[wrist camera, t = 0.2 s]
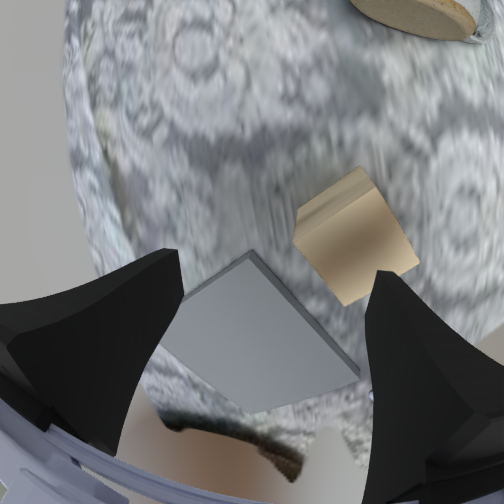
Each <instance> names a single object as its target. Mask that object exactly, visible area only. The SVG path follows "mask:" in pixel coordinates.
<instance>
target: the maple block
mask: <svg viewBox="0 0 504 504" xmlns="http://www.w3.org/2000/svg"><path fill="white" fill-rule="evenodd" d="M293 244H294V245H295V246H296V247H297V248H298V250H299V251H300V252H301V253H302V254H303V256H304V257H305V258H306V259H307V260H308V262H309V263H310V264H311V265H312V267H313V268H314V269H315V270H316V272H317V273H318V274H319V275H320V276H321V278H322V279H323V280H324V281H325V283H326V284H327V285H328V286H329V288H330V289H331V290H332V291H333V293H334V294H335V295H336V296H337V298H338V299H339V300H340V302H341V303H342V304H343V305H344V307H345V306H347V305H349V304H351V303H353V302H355V301H356V300H358V299H360V298H362V297H364V296H365V295H367V294H369V293H371V292H372V288H373V284H374V281H375V277H376V273H377V270H384V271H393V272H395V273H396V274H397V275H398V276H400V275H402V274H403V273H405V272H407V271H408V270H410V269H412V268H413V267H415V266H416V265H418V264H420V261H419V259H418V258H417V256H416V254H415V252H414V250H413V248H412V246H411V244H410V243H409V241H408V239H407V237H406V235H405V234H404V232H403V230H402V228H401V227H400V225H399V223H398V221H397V220H396V218H395V216H394V215H393V213H392V211H391V210H390V208H389V206H388V205H387V203H386V202H385V200H384V198H383V197H382V195H381V194H380V192H379V191H378V189H377V187H376V186H375V185H374V183H373V182H372V181H371V179H370V178H369V177H368V175H367V174H366V173H365V171H364V170H363V169H362V167H361V166H359V167H357V168H356V169H354V170H353V171H351V172H350V173H348V174H347V175H346V176H344V177H343V178H341V179H340V180H338V181H337V182H336V183H334V184H333V185H331V186H330V187H328V188H327V189H326V190H324V191H323V192H321V193H320V194H318V195H317V196H316V197H314V198H313V199H311V200H310V201H308V202H307V203H306V204H304V205H303V206H301V207H300V208H298V212H297V218H296V225H295V231H294V237H293Z"/></svg>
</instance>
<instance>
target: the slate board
mask: <svg viewBox="0 0 504 504" xmlns="http://www.w3.org/2000/svg"><path fill="white" fill-rule="evenodd" d="M159 344H160V345H161V346H162V347H164V348H165V349H166V350H167V351H168V352H169V353H170V354H172V355H173V356H174V357H175V358H176V359H178V360H179V361H180V362H181V363H182V364H184V365H185V366H186V367H187V368H188V369H190V370H191V371H192V372H193V373H195V374H196V375H197V376H198V377H200V378H201V379H202V380H203V381H205V382H206V383H207V384H209V385H210V386H211V387H213V388H214V389H215V390H217V391H218V392H219V393H221V394H222V395H223V396H225V397H226V398H227V399H229V400H230V401H232V402H233V403H234V404H236V405H237V406H239V407H240V408H242V409H243V410H244V411H246V412H247V413H249V414H250V415H251V414H255V413H259V412H263V411H267V410H271V409H275V408H278V407H282V406H285V405H289V404H292V403H296V402H299V401H302V400H305V399H309V398H312V397H315V396H318V395H321V394H324V393H327V392H329V391H332V390H335V389H338V388H340V387H343V386H346V385H348V384H351V383H354V382H356V381H359V380H360V370H359V369H358V368H357V367H356V365H355V364H354V363H353V362H352V361H351V360H350V359H349V358H348V357H347V355H346V354H345V353H344V352H343V351H342V350H341V349H340V348H339V346H338V345H337V344H336V343H335V342H334V341H333V340H332V339H331V337H330V336H329V335H328V334H327V333H326V332H325V331H324V330H323V329H322V327H321V326H320V325H319V324H318V323H317V322H316V321H315V320H314V318H313V317H312V316H311V315H310V314H309V313H308V312H307V311H306V310H305V308H304V307H303V306H302V305H301V304H300V303H299V302H298V301H297V300H296V298H295V297H294V296H293V295H292V294H291V293H290V292H289V291H288V289H287V288H286V287H285V286H284V285H283V284H282V283H281V282H280V281H279V279H278V278H277V277H276V276H275V275H274V274H273V273H272V272H271V270H270V269H269V268H268V267H267V266H266V265H265V264H264V263H263V262H262V260H261V259H260V258H259V257H258V256H257V255H256V254H255V253H254V252H253V250H251V251H250V252H248V253H247V254H245V255H244V256H242V257H241V258H239V259H238V260H237V261H235V262H234V263H232V264H231V265H229V266H228V267H226V268H225V269H224V270H222V271H221V272H219V273H218V274H216V275H215V276H213V277H212V278H211V279H209V280H208V281H206V282H205V283H203V284H202V285H200V286H199V287H198V288H196V289H195V290H193V291H192V292H190V293H189V294H187V295H186V296H185V297H183V299H182V301H181V304H180V306H179V308H178V311H177V313H176V315H175V317H174V319H173V320H172V322H171V324H170V325H169V327H168V329H167V330H166V332H165V334H164V335H163V337H162V339H161V340H160V342H159Z"/></svg>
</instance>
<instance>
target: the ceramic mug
mask: <svg viewBox="0 0 504 504" xmlns="http://www.w3.org/2000/svg"><path fill="white" fill-rule="evenodd" d="M350 1H351V2H352V3H353V5H354V6H355V7H356V8H357V9H359V10H360V11H361V12H362V13H364V14H365V15H367V16H368V17H370V18H372V19H374V20H376V21H378V22H380V23H383V24H385V25H388V26H390V27H393V28H396V29H399V30H402V31H405V32H408V33H412V34H415V35H419V36H423V37H428V38H433V39H438V40H448V41H459V40H462V41H465V42H468V43H475V44H487V43H489V42H490V41H491V40H492V39H493V36H494V33H495V28H496V17H495V11H494V7H493V3H492V0H350ZM475 29H476V30H475ZM474 31H475V34H474V35H472V34H473V33H474Z"/></svg>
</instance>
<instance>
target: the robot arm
mask: <svg viewBox="0 0 504 504" xmlns="http://www.w3.org/2000/svg"><path fill="white" fill-rule="evenodd" d="M183 296H184V289H183V282H182V276H181V269H180V262H179V255H178V250H176V249H167V248H163V249H160V250H157V251H155V252H152V253H150V254H148V255H146V256H144V257H142V258H140V259H138V260H136V261H134V262H131V263H129V264H127V265H125V266H123V267H121V268H119V269H117V270H115V271H113V272H111V273H109V274H107V275H104V276H102V277H100V278H98V279H96V280H93V281H91V282H89V283H86V284H84V285H81V286H79V287H75V288H73V289H70V290H67V291H63V292H60V293H57V294H53V295H50V296H47V297H43V298H38V299H34V300H29V301H23V302H17V303H8V304H0V481H1V482H2V484H3V485H4V486H5V487H6V488H7V491H6V493H5V495H4V496H3V498H2V500H1V502H0V504H129V499H128V498H126V497H125V496H123V495H121V494H119V493H117V492H116V491H114V490H112V489H111V488H109V487H108V486H106V485H105V484H104V483H102V482H101V481H99V480H98V479H97V478H95V477H93V476H92V475H90V474H88V473H86V472H85V471H83V470H82V468H81V466H80V465H82V466H84V467H86V468H88V469H89V470H91V471H93V472H95V473H97V474H98V475H100V476H103V477H104V478H106V479H108V480H110V481H112V482H114V483H117V484H118V485H121V486H123V487H125V488H127V489H129V490H132V491H134V492H136V493H139V494H141V495H143V496H146V497H149V498H151V499H154V500H156V501H159V502H162V503H165V504H274V503H266V502H259V501H253V500H247V499H242V498H236V497H232V496H227V495H222V494H217V493H213V492H210V491H206V490H202V489H198V488H195V487H191V486H188V485H184V484H181V483H178V482H175V481H171V480H169V479H166V478H163V477H160V476H157V475H154V474H152V473H149V472H147V471H144V470H142V469H139V468H136V467H134V466H132V465H129V464H127V463H125V462H123V461H120V460H118V459H116V458H114V456H116V453H117V448H118V444H119V440H120V436H121V432H122V428H123V425H124V421H125V418H126V415H127V412H128V409H129V406H130V403H131V400H132V397H133V395H134V392H135V389H136V387H137V385H138V382H139V380H140V378H141V375H142V373H143V371H144V368H145V366H146V364H147V362H148V361H149V359H150V357H151V355H152V354H153V352H154V350H155V349H156V347H157V345H158V344H159V342H160V340H161V339H162V337H163V335H164V334H165V332H166V330H167V329H168V327H169V325H170V324H171V322H172V320H173V319H174V317H175V315H176V313H177V311H178V308H179V306H180V304H181V301H182V299H183ZM365 337H366V346H367V352H368V359H369V366H370V373H371V380H372V388H373V391H372V392H370V393H369V397H370V398H371V399H372V400H373V432H372V445H371V454H370V462H369V469H368V475H367V481H366V486H365V491H364V496H363V500H362V504H504V366H503V365H501V364H499V363H498V362H496V361H494V360H493V359H491V358H490V357H488V356H487V355H485V354H484V353H482V352H481V351H480V350H478V349H477V348H475V347H474V346H473V345H471V344H470V343H469V342H467V341H466V340H465V339H464V338H462V337H461V336H460V335H459V334H458V333H456V332H455V331H454V330H453V329H452V328H450V327H449V326H448V325H447V324H446V323H445V322H444V321H443V320H442V319H441V318H440V317H439V316H438V315H436V314H435V313H434V312H433V311H432V310H431V309H430V308H429V307H428V306H427V305H426V304H425V303H424V302H423V301H422V300H421V299H420V298H419V296H418V295H417V294H416V293H415V292H414V291H413V290H412V289H411V288H410V287H409V286H408V285H407V284H406V283H405V282H404V281H403V280H402V279H401V278H400V277H399V276H398V275H397V274H396V273H395V272H393V271H384V270H377V273H376V277H375V281H374V284H373V288H372V292H371V296H370V299H369V303H368V306H367V310H366V313H365Z"/></svg>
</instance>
